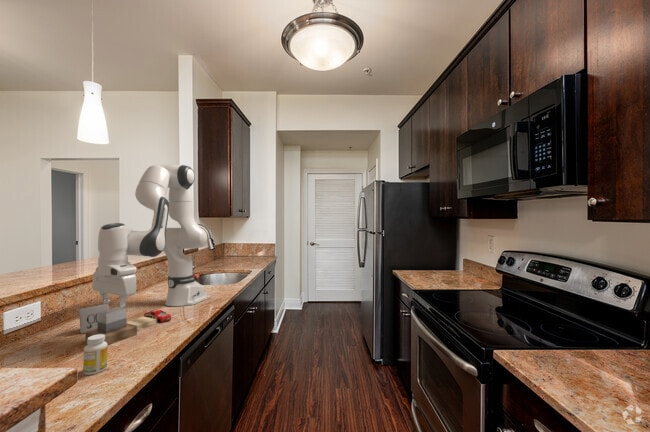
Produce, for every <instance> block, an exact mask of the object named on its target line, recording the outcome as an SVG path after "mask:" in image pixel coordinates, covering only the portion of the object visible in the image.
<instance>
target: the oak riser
mask: <svg viewBox="0 0 650 432" xmlns="http://www.w3.org/2000/svg"><path fill="white" fill-rule="evenodd" d="M127 324H128V325H132V326H136V327H137V332H138V331H140V330H143V329H146V328H149V327H152V326H155V325H157V322H156V319H153V318H148V317H144V316H141V317H138V318H134V319H132V320H129V321H128V320H127Z"/></svg>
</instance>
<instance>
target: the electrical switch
mask: <svg viewBox="0 0 650 432" xmlns="http://www.w3.org/2000/svg"><path fill="white" fill-rule="evenodd" d="M107 309H110V305H109V303H106V304H104V303H102V304H98V305H94V306H88V307H82V308H79V309H78V314H79V333H80V334H81V335H82V334H86V332H89V331H92V330H95V329H97V325H98V312H100V311H104V310H107ZM88 326H89V327H88Z"/></svg>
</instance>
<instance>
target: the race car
mask: <svg viewBox="0 0 650 432" xmlns="http://www.w3.org/2000/svg"><path fill="white" fill-rule="evenodd" d="M143 314H144V315H143V317H148V318H153V319H156V323H159V324H161V323H166V322H169V321H171V320H172V315H171V314H169V313H168V312H167V311H164V310H162V309H151V310H148V311H145V312H144V313H143Z"/></svg>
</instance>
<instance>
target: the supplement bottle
mask: <svg viewBox="0 0 650 432" xmlns="http://www.w3.org/2000/svg"><path fill="white" fill-rule="evenodd" d="M104 340H105V335H104V334H98V335H93V336H90V337H88V339H87V341H86V345H85V346H84V348H83V364H82V365H83V366H82V367H83V369H82V371H83V374H84V375H85V376H86V375H87V376H91V375H95V374H99V373H102V372H103V371H105V370H106V369H107V367H108V346H109V345H108V344H107V342H105V341H104Z"/></svg>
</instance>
